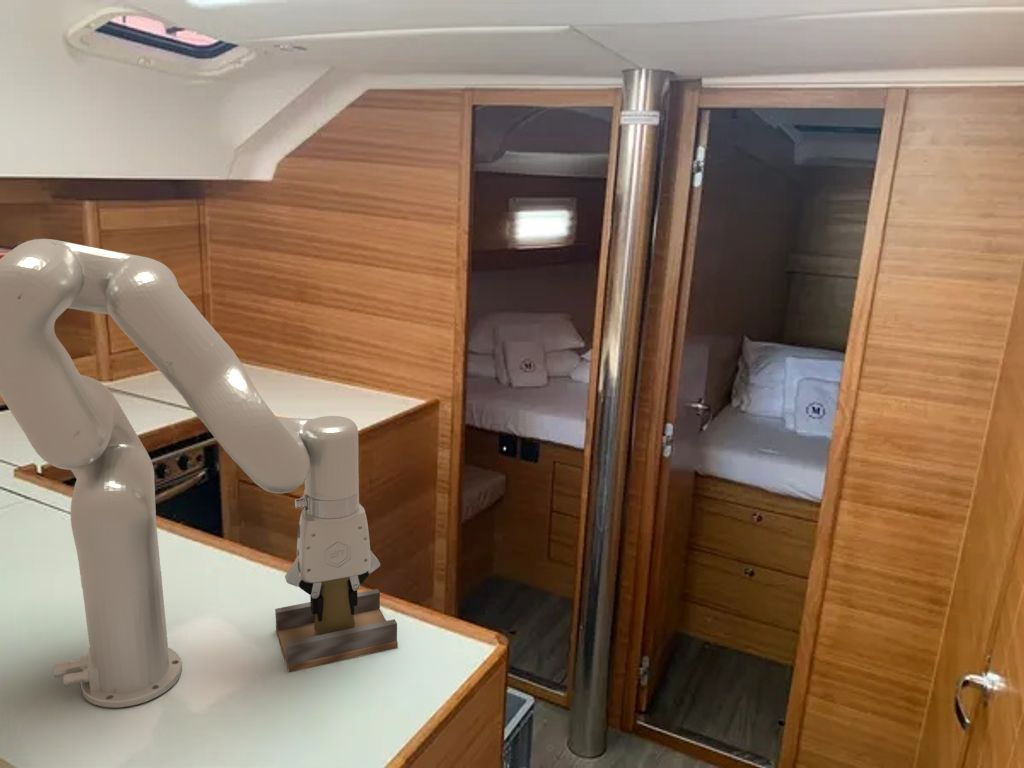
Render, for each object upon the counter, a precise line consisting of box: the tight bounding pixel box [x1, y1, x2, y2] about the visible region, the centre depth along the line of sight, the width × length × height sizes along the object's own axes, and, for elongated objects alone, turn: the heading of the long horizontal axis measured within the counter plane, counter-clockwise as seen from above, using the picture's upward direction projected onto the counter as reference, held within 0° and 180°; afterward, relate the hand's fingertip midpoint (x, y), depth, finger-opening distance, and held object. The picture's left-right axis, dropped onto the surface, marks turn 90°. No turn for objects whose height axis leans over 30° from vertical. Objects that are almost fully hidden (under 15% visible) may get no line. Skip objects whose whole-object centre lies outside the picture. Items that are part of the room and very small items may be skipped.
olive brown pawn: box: [314, 577, 355, 635], centre depth 119 cm, size 6×6×11 cm
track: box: [274, 588, 399, 673], centre depth 121 cm, size 16×11×4 cm
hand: (334, 612), depth 120 cm, fingers closed on olive brown pawn, 4 cm apart
